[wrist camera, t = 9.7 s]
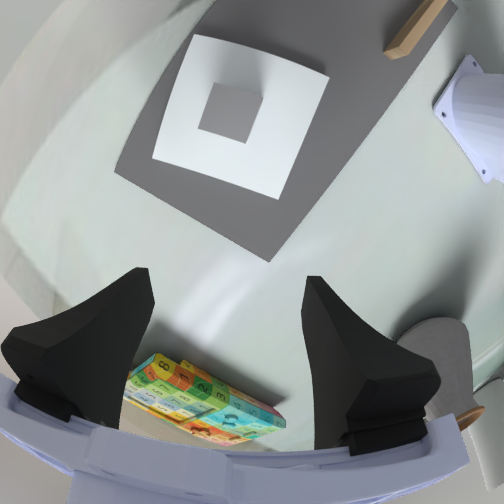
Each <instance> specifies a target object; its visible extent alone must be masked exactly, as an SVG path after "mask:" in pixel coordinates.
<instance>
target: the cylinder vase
mask: <svg viewBox="0 0 504 504" xmlns="http://www.w3.org/2000/svg"><path fill="white" fill-rule="evenodd" d="M473 398H474V400H475V401H476V402H477V403H478V405H479V406H484V407H485V411H484V413H483V414H482V415H481V416H480V417H479V418H478V419H477V420H476V421H475V422H474V423H472V424H471V425H470V426H468V427H467V428H468V430H469V433H470V436H471V439H472V441H473V444H474V447H475V450H476V453H477V456H478V459H479V463H480V466H481V470H482V473H483V477H484V480H485V484H486V488H487V491H490V490H492V489H494V488H496V487H498V486H500V485H501V484H503V483H504V382H503V380H502V379H495V380H493V381H491V382H489V383H488V384H486V385H485V386H483V387H482V388H481V389H479V390H478V391H477V392H476V393H474V394H473Z"/></svg>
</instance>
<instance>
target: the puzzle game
mask: <svg viewBox="0 0 504 504" xmlns="http://www.w3.org/2000/svg"><path fill="white" fill-rule="evenodd" d="M123 398H124V399H126V400H127V401H129V402H131V403H132V404H134V405H136V406H138V407H139V408H141V409H143V410H145V411H147V412H149V413H150V414H152V415H154V416H156V417H158V418H160V419H162V420H164V421H166V422H168V423H170V424H172V425H174V426H176V427H179V428H181V429H183V430H185V431H187V432H190V433H192V435H195V436H199V437H201V438H204V439H206V440H209V441H211V442H214V443H217V444H219V445H222V446H230V445H233V444H237V443H240V442H244V441H247V440H251V439H254V438H257V437H260V436H263V435H266V434H269V433H272V432H275V431H278V430H281V429H283V428H286V420H285V419H284V418H283V417H282V415H281V414H280V413H279V412H278V411H276V410H275V409H274V408H273V407H271V406H269V405H267V404H265V403H263V402H260V401H258V400H256V399H254V398H252V397H250V396H248V395H246V394H244V393H242V392H240V391H239V390H237V389H235V388H233V387H231V386H229V385H227V384H225V383H224V382H222V381H220V380H218V379H216V378H215V377H213V376H211V375H209V374H208V373H206V372H204V371H202V370H201V369H199V368H197V367H196V366H194V365H192V364H191V363H189V362H188V361H186V360H182V361H180V362H179V363H175V362H174V361H172V360H171V359H169V358H167V357H166V356H164V355H163V354H159V353H155V354H154V355H153V356H151V357H150V358H149V359H147V360H146V361H145V362H144V363H142V364H141V365H140V366H138V367H137V368H136V369H135V370H133V371H132V372H131V373H129V374H128V378H127V382H126V386H125V391H124V395H123Z"/></svg>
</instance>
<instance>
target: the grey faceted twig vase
mask: <svg viewBox="0 0 504 504" xmlns="http://www.w3.org/2000/svg"><path fill="white" fill-rule="evenodd" d="M396 344H398V345H400V346H402V347H403V348H405V349H407V350H409V351H411V352H413V353H416V354H418V355H420V356H423V357H425V358H428V359H430V360H432V361H433V363H434V365H435V367H436V369H437V371H438V373H439V375H440V377H441V385H440V388H439V390H438V391H437V392H436V394H435V395H434V396H433V397H432V399H431V400H430V401H429V402H428V403H427V404H426V405H425V407H424V408H425V411H426V416H425V418H424V422H425V424H426V423H427V422H429V421H431V420H434V419H436V418H440V417H443V416H446V415H448V414H451V413H452V414H454V416H455V419H456V422H457V424H458V427H459V430H460V432H461V431H462V430H464V429H466V428H467V427H468V426H470V425H471V424H472V423H474V422H475V421H476V420H477V419H478V418H479V417H480V416H481V415H482V414H483V413H484V411H485V407H484V406H479V405H478V403H477V402H476V401H475V400H474V398H473V374H472V360H471V349H470V341H469V333H468V330H467V328H466V325H465V324H464V323H462V322H461V321H459V320H457V319H455V318H450V317H440V318H429V319H426V320H423V321H421V322H419V323H417V324H415V325H414V326H412V327H411V328H410V329H408V330H407V331H406V332H405V333H404V334H403V335H402V336H401V337H400V338H399V339H398V341H397V342H396Z"/></svg>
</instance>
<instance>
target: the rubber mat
mask: <svg viewBox="0 0 504 504" xmlns="http://www.w3.org/2000/svg"><path fill="white" fill-rule="evenodd" d="M423 1H424V0H217V1H216V2H215V3H214V4H213V5H212V7H211V8H210V9H209V10H208V12H207V13H206V14H205V15H204V16H203V18H202V19H201V20H200V22H199V23H198V24H197V25H196V27H195V28H194V29H193V31H192V32H191V33H190V35H189V36H188V38H187V39H186V40H185V42H184V43H183V45H182V46H181V47H180V49H179V50H178V52H177V53H176V55H175V56H174V58H173V59H172V61H171V62H170V64H169V66H168V67H167V69H166V70H165V72H164V74H163V75H162V77H161V78H160V80H159V82H158V83H157V85H156V87H155V89H154V90H153V92H152V94H151V96H150V97H149V99H148V101H147V103H146V105H145V107H144V108H143V110H142V112H141V114H140V116H139V118H138V120H137V122H136V124H135V126H134V128H133V130H132V132H131V134H130V136H129V138H128V141H127V143H126V145H125V147H124V149H123V152H122V154H121V156H120V159H119V161H118V163H117V166H116V168H115V171H114V172H115V173H117V174H118V175H120V176H122V177H123V178H125V179H127V180H128V181H130V182H132V183H134V184H135V185H137V186H139V187H140V188H142V189H144V190H146V191H147V192H149V193H151V194H152V195H154V196H156V197H158V198H159V199H161V200H163V201H164V202H166V203H168V204H170V205H171V206H173V207H175V208H176V209H178V210H180V211H181V212H183V213H185V214H187V215H188V216H190V217H192V218H193V219H195V220H197V221H199V222H200V223H202V224H204V225H205V226H207V227H209V228H211V229H212V230H214V231H216V232H217V233H219V234H221V235H223V236H224V237H226V238H228V239H229V240H231V241H233V242H235V243H236V244H238V245H240V246H241V247H243V248H245V249H246V250H248V251H250V252H252V253H253V254H255V255H257V256H258V257H260V258H262V259H264V260H265V261H267V262H270V261H271V259H272V258H273V257H274V256H275V254H276V253H277V252H278V251H279V249H280V248H281V247H282V246H283V244H284V243H285V242H286V241H287V239H288V238H289V237H290V236H291V234H292V233H293V232H294V231H295V229H296V228H297V227H298V225H299V224H300V223H301V222H302V220H303V219H304V218H305V216H306V215H307V214H308V213H309V211H310V210H311V209H312V208H313V206H314V205H315V204H316V202H317V201H318V200H319V198H320V197H321V196H322V195H323V193H324V192H325V191H326V189H327V188H328V187H329V186H330V184H331V183H332V182H333V180H334V179H335V178H336V176H337V175H338V174H339V172H340V171H341V170H342V169H343V167H344V166H345V165H346V163H347V162H348V161H349V159H350V158H351V157H352V155H353V154H354V153H355V151H356V150H357V149H358V147H359V146H360V145H361V143H362V142H363V141H364V139H365V138H366V137H367V135H368V134H369V133H370V131H371V130H372V129H373V127H374V126H375V125H376V123H377V122H378V121H379V119H380V118H381V117H382V115H383V114H384V112H385V111H386V110H387V108H388V107H389V106H390V104H391V103H392V101H393V100H394V99H395V97H396V96H397V95H398V93H399V92H400V90H401V89H402V88H403V86H404V85H405V84H406V82H407V81H408V79H409V78H410V77H411V75H412V74H413V72H414V71H415V70H416V68H417V67H418V65H419V64H420V63H421V61H422V60H423V58H424V57H425V55H426V54H427V53H428V51H429V50H430V48H431V47H432V45H433V44H434V42H435V41H436V40H437V38H438V37H439V35H440V34H441V32H442V31H443V29H444V28H445V26H446V25H447V24H448V22H449V21H450V19H451V18H452V16H453V15H454V13H455V12H456V10H457V9H458V7H457V6H456V5H455V4H454V3H453V2H452V1H451V0H448V1H447V2H446V4H445V5H444V7H443V8H442V9H441V11H440V12H439V13H438V15H437V16H436V18H435V19H434V20H433V22H432V23H431V24H430V26H429V27H428V29H427V30H426V31H425V33H424V34H423V35H422V37H421V38H420V40H419V41H418V42H417V44H416V45H415V46H414V48H413V49H412V50H411V52H410V53H409V55H407V56H403V57H400V58H396V59H393V60H390V59H389V58H388V57H387V56H386V55H385V54H384V53H383V52H384V51H385V49H386V48H387V47H388V46H389V44H390V43H391V42H392V40H393V39H394V38H395V37H396V35H397V34H398V33H399V31H400V30H401V29H402V28H403V26H404V25H405V24H406V22H407V21H408V20H409V19H410V17H411V16H412V15H413V14H414V12H415V11H416V10H417V9H418V7H419V6H420V5H421V4H422V2H423ZM194 34H196V35H201V36H206V37H211V38H216V39H220V40H224V41H228V42H232V43H236V44H240V45H243V46H247V47H250V48H254V49H257V50H260V51H263V52H266V53H269V54H272V55H275V56H278V57H281V58H284V59H286V60H289V61H292V62H294V63H297V64H299V65H302V66H304V67H307V68H309V69H312V70H314V71H316V72H318V73H321V74H323V75H325V76H327V77H330V78H329V80H328V83H327V85H326V87H325V90H324V92H323V95H322V97H321V99H320V102H319V104H318V106H317V109H316V111H315V114H314V116H313V118H312V121H311V123H310V126H309V128H308V130H307V133H306V135H305V137H304V140H303V142H302V145H301V147H300V149H299V152H298V154H297V156H296V159H295V161H294V164H293V166H292V168H291V171H290V173H289V175H288V178H287V180H286V183H285V185H284V187H283V190H282V192H281V194H280V197H279V199H278V200H277V199H275V198H272V197H269V196H266V195H264V194H261V193H258V192H255V191H252V190H250V189H247V188H244V187H241V186H238V185H235V184H232V183H229V182H226V181H223V180H220V179H217V178H214V177H211V176H208V175H205V174H202V173H199V172H196V171H193V170H189V169H186V168H183V167H180V166H176V165H173V164H170V163H166V162H163V161H160V160H156V159H153V158H152V156H153V153H154V149H155V145H156V141H157V138H158V134H159V131H160V127H161V124H162V120H163V117H164V114H165V111H166V107H167V104H168V101H169V98H170V95H171V92H172V89H173V87H174V84H175V81H176V78H177V75H178V73H179V70H180V67H181V65H182V62H183V60H184V57H185V55H186V52H187V50H188V47H189V45H190V43H191V40H192V38H193V36H194Z"/></svg>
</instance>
